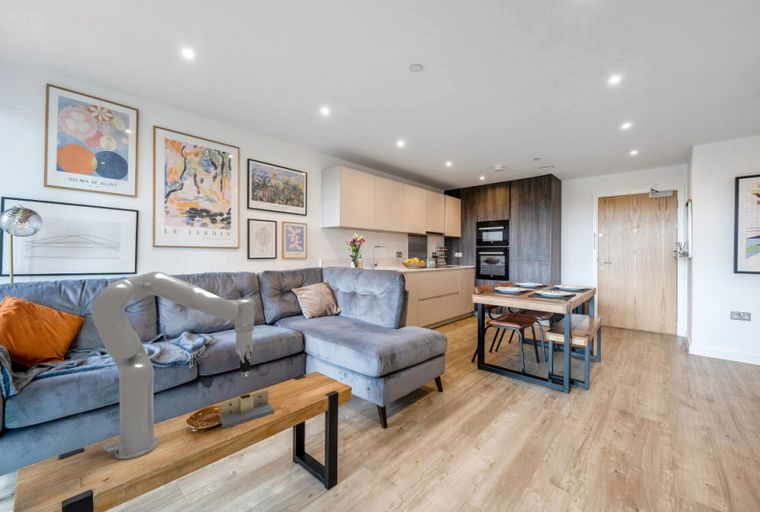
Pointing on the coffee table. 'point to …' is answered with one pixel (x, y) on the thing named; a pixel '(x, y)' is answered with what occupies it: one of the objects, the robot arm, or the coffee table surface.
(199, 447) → the coffee table surface
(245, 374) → the hinge pin
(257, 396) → the hinge
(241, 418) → the base plate
